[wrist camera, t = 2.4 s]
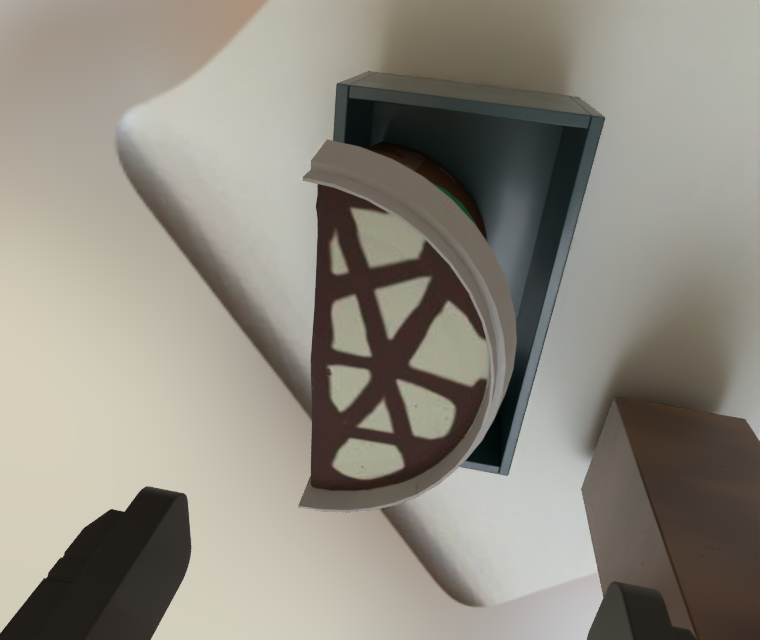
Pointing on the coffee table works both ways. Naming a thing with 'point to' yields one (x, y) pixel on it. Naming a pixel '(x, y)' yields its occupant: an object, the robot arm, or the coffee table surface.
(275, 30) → the coffee table surface
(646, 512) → the pillar
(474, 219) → the food container
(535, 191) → the teal open box
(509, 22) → the coffee table surface
